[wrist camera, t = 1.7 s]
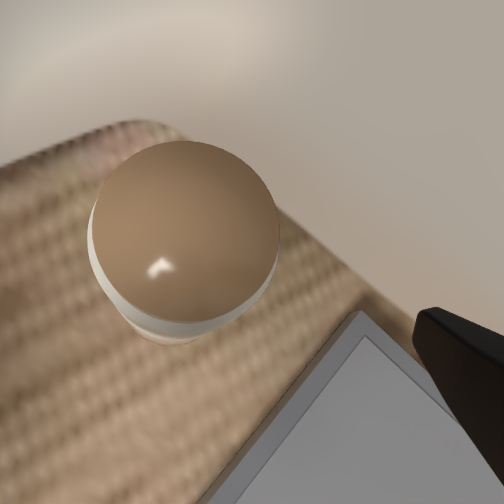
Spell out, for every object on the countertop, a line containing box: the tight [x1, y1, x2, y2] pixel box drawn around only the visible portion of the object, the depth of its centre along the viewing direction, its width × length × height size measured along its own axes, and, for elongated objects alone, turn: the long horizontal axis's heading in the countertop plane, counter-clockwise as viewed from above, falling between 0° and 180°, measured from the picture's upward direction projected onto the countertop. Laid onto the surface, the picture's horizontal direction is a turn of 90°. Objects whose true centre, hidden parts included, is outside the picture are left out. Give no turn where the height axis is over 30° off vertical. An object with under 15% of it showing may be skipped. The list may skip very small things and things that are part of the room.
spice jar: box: [87, 141, 280, 346], centre depth 15 cm, size 4×4×10 cm
